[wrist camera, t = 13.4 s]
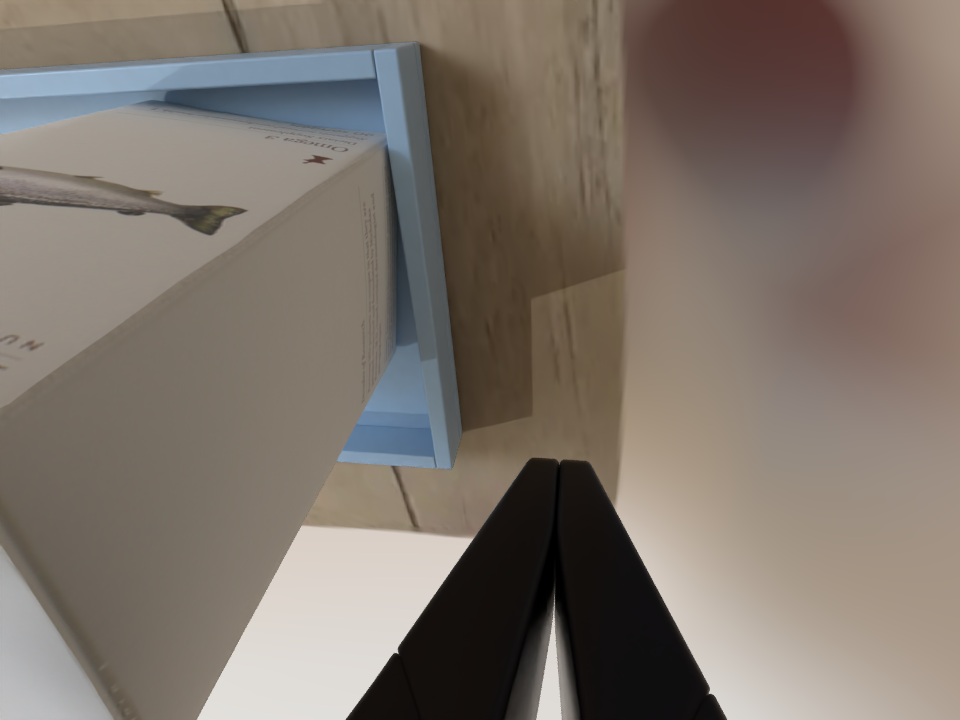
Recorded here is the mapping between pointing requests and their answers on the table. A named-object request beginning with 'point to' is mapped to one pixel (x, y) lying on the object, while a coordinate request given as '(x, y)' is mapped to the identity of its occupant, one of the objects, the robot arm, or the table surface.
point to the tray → (325, 103)
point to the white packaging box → (172, 386)
